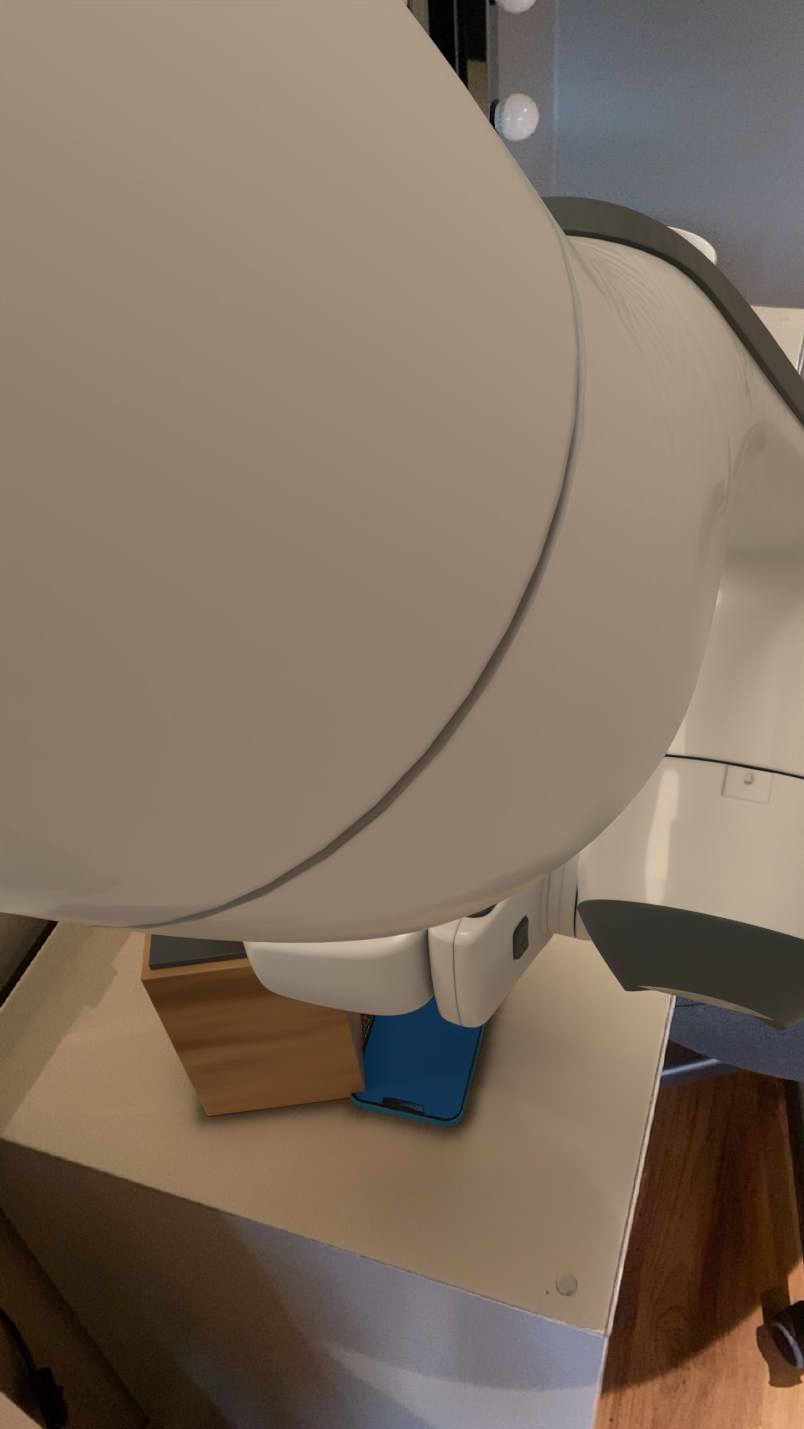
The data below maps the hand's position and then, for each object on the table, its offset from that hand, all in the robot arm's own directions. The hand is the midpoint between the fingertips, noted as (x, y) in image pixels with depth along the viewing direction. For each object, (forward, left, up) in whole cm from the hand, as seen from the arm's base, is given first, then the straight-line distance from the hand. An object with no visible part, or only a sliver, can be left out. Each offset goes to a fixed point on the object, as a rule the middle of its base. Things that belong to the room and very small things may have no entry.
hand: (242, 759), depth 49 cm
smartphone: (+1, -7, -28) cm, 29 cm away
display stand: (+1, +2, -27) cm, 27 cm away
